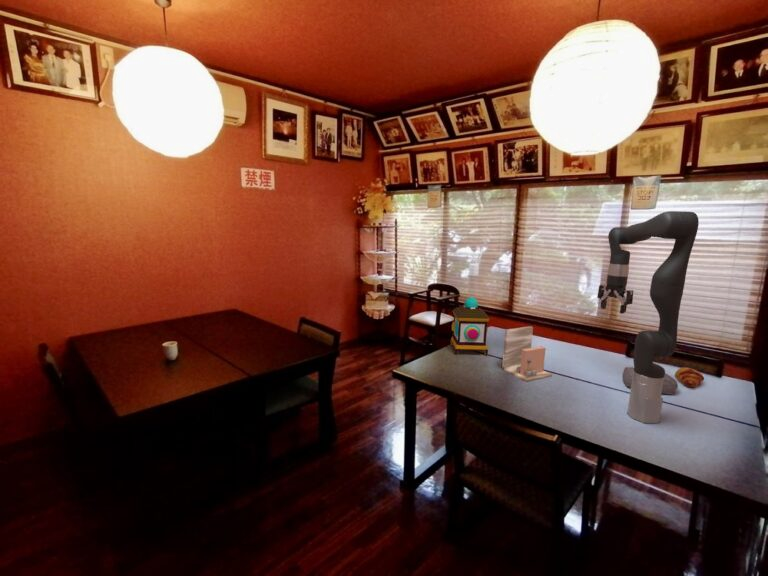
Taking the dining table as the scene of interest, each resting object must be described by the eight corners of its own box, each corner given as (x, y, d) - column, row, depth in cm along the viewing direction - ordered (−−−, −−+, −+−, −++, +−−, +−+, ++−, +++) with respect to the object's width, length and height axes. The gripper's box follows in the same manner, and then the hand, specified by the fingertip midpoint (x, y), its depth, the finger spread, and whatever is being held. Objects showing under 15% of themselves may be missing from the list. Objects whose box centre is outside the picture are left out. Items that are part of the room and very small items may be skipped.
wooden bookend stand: (551, 376, 173) (556, 335, 170) (525, 382, 167) (529, 339, 163) (527, 364, 187) (530, 326, 184) (502, 369, 181) (505, 329, 177)
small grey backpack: (624, 389, 162) (681, 400, 153) (627, 371, 160) (685, 381, 152) (619, 376, 175) (671, 385, 167) (622, 360, 173) (674, 367, 165)
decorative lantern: (490, 357, 197) (494, 301, 191) (453, 356, 197) (456, 300, 191) (481, 344, 216) (485, 293, 211) (447, 343, 217) (450, 293, 211)
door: (544, 372, 175) (547, 348, 173) (525, 376, 170) (527, 351, 168) (539, 370, 178) (541, 346, 176) (519, 373, 173) (522, 349, 171)
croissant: (677, 379, 182) (670, 363, 183) (703, 374, 176) (695, 358, 177) (681, 394, 165) (673, 377, 166) (709, 389, 159) (700, 372, 160)
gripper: (596, 272, 165) (591, 308, 168) (628, 277, 152) (622, 315, 155) (607, 271, 168) (603, 306, 171) (640, 276, 155) (634, 314, 158)
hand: (612, 310), depth 163 cm, fingers open, 8 cm apart
